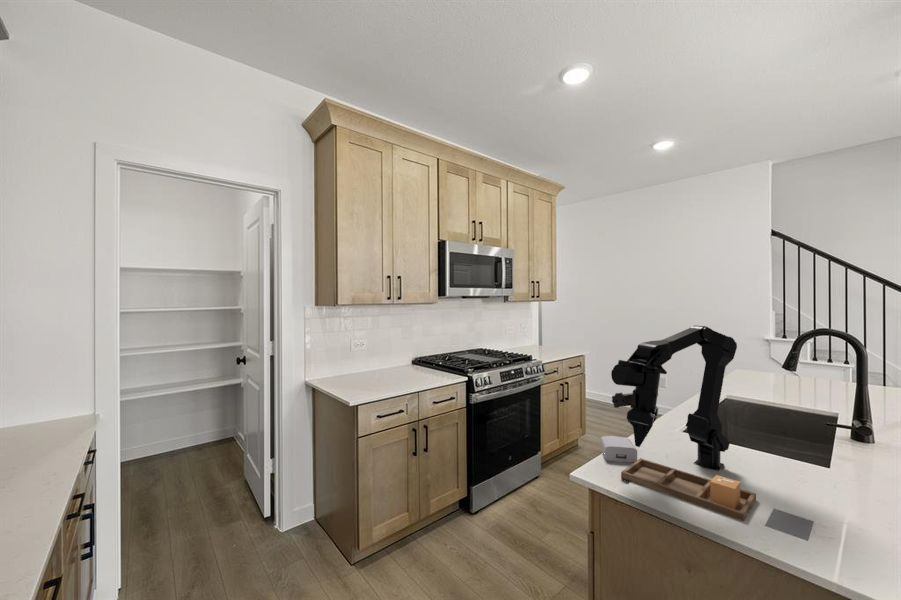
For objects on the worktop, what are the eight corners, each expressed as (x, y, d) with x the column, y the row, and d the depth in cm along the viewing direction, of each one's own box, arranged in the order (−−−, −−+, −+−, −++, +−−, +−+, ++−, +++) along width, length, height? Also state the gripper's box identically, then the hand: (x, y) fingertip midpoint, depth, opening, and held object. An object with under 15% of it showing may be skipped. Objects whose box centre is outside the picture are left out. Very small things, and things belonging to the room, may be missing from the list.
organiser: (640, 465, 116) (640, 458, 116) (756, 502, 95) (756, 493, 95) (621, 479, 108) (621, 471, 108) (743, 523, 87) (743, 514, 87)
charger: (626, 444, 133) (637, 463, 118) (598, 442, 135) (605, 461, 120) (626, 430, 133) (637, 448, 118) (597, 429, 135) (605, 446, 120)
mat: (773, 510, 92) (773, 508, 92) (813, 523, 86) (813, 521, 86) (764, 528, 85) (764, 525, 85) (807, 543, 80) (807, 540, 80)
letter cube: (716, 494, 98) (716, 474, 98) (740, 502, 94) (740, 481, 94) (710, 501, 95) (710, 481, 95) (734, 509, 91) (734, 488, 91)
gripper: (621, 379, 121) (614, 428, 120) (610, 384, 105) (602, 441, 104) (661, 387, 115) (654, 439, 114) (656, 393, 99) (648, 454, 98)
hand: (639, 442), depth 108 cm, fingers open, 9 cm apart
